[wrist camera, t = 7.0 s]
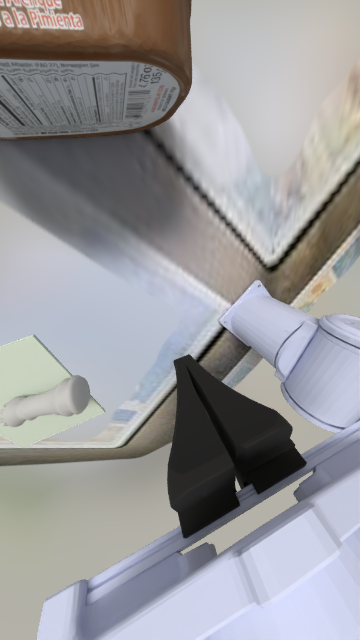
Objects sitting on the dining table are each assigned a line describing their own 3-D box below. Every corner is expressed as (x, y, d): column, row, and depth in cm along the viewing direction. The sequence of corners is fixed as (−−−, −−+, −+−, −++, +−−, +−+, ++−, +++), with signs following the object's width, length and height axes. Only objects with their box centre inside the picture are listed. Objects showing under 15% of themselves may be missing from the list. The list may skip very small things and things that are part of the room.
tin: (165, 81, 12) (233, -137, 5) (172, 142, 13) (230, 49, 6) (-99, 79, 9) (-946, -500, 2) (-47, 158, 10) (-382, 17, 3)
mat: (34, 334, 17) (32, 335, 17) (105, 410, 26) (105, 412, 25) (-102, 380, 15) (-106, 383, 15) (24, 445, 24) (23, 448, 24)
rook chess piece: (70, 371, 18) (-8, 392, 17) (70, 415, 16) (-17, 441, 15) (90, 375, 22) (27, 392, 21) (91, 411, 20) (23, 431, 19)
